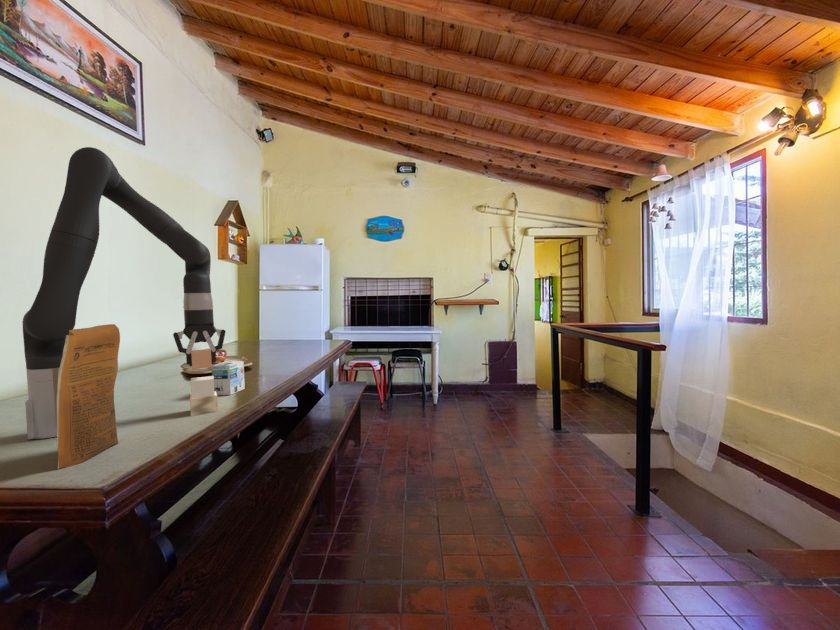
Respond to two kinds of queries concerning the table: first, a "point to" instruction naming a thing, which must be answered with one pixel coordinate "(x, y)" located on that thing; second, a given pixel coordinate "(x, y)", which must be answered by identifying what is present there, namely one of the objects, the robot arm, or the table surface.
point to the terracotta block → (201, 358)
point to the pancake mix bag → (87, 394)
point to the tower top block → (202, 387)
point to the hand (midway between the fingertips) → (201, 364)
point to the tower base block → (204, 405)
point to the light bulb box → (228, 377)
